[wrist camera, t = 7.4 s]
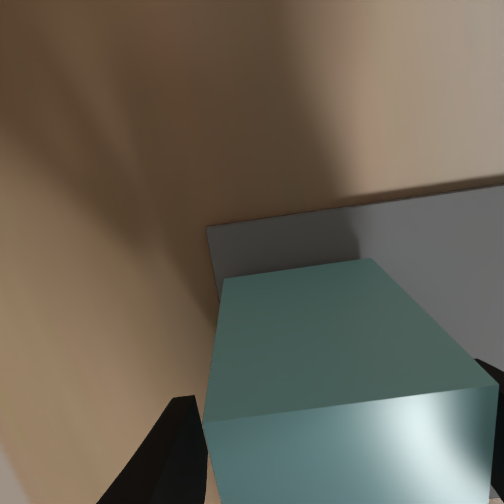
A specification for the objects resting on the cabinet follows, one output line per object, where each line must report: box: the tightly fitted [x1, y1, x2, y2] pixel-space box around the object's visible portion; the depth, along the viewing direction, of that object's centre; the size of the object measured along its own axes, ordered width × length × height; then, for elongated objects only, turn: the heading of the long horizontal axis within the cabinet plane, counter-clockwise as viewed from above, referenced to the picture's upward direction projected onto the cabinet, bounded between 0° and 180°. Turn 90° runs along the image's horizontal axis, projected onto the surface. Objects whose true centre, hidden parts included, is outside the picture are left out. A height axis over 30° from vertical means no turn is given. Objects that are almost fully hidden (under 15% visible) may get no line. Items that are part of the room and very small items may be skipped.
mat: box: [206, 184, 504, 499], centre depth 15 cm, size 15×12×1 cm
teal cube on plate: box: [202, 258, 499, 504], centre depth 10 cm, size 5×5×7 cm
